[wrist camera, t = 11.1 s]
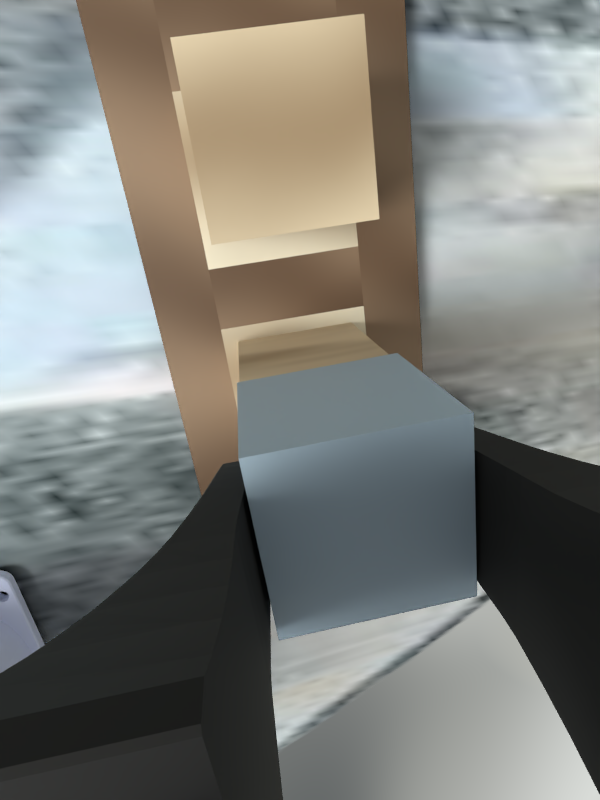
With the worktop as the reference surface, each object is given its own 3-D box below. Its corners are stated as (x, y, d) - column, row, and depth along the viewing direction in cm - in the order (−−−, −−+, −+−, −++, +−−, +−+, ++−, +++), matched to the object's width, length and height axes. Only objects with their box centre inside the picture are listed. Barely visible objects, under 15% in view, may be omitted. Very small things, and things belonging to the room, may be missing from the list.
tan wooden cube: (339, 220, 15) (379, 218, 11) (217, 239, 15) (211, 245, 11) (325, 76, 14) (363, 13, 10) (189, 94, 14) (169, 37, 9)
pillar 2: (361, 425, 18) (399, 485, 14) (257, 444, 18) (265, 512, 14) (350, 322, 17) (390, 355, 12) (238, 341, 16) (239, 382, 12)
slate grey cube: (408, 491, 13) (476, 596, 9) (266, 520, 13) (278, 639, 9) (397, 353, 12) (473, 412, 8) (236, 382, 11) (238, 458, 8)
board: (423, 483, 20) (428, 490, 20) (211, 524, 19) (211, 533, 19) (394, -56, 14) (401, -69, 13) (75, -20, 13) (68, -31, 12)
